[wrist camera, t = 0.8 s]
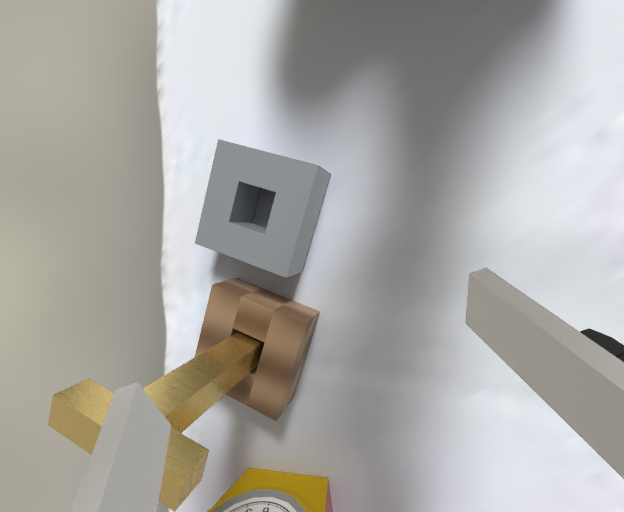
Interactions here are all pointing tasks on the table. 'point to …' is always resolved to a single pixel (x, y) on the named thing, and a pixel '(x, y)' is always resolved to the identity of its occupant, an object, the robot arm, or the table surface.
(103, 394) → the t key
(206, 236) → the block
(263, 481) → the alarm clock
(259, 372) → the block
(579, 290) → the table surface
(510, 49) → the table surface
